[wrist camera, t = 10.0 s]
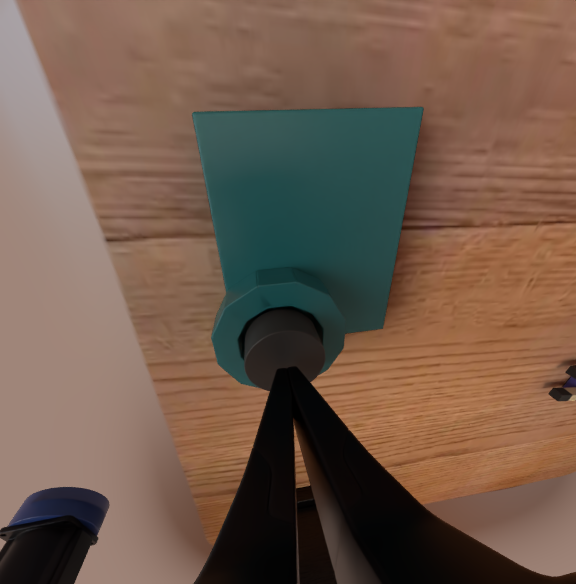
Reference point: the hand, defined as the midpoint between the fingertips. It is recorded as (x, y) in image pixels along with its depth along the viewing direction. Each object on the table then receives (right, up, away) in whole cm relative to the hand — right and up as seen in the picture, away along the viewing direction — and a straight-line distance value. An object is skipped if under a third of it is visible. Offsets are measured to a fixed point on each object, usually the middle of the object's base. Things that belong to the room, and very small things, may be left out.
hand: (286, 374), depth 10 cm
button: (0, +1, +2) cm, 2 cm away
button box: (+1, +6, +3) cm, 7 cm away
